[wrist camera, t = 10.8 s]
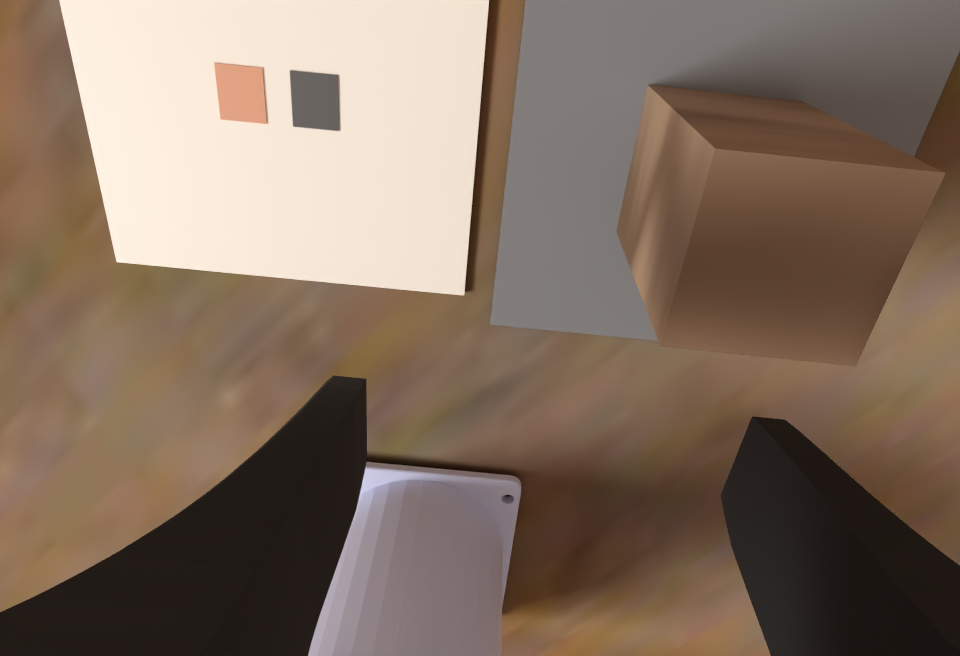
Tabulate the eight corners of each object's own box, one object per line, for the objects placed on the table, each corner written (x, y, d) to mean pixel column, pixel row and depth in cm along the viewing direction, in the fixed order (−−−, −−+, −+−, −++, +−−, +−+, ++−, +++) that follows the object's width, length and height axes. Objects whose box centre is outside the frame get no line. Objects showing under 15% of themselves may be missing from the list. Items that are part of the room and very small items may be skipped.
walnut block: (754, 246, 21) (855, 366, 15) (616, 231, 21) (660, 346, 15) (802, 101, 18) (945, 173, 12) (647, 84, 18) (715, 148, 12)
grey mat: (824, 352, 23) (827, 357, 23) (490, 320, 23) (490, 324, 23) (986, -31, 17) (994, -30, 17) (533, -77, 17) (534, -77, 16)
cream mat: (464, 292, 22) (464, 295, 22) (119, 259, 22) (116, 262, 22) (500, -127, 16) (499, -128, 16) (26, -176, 16) (19, -177, 16)
